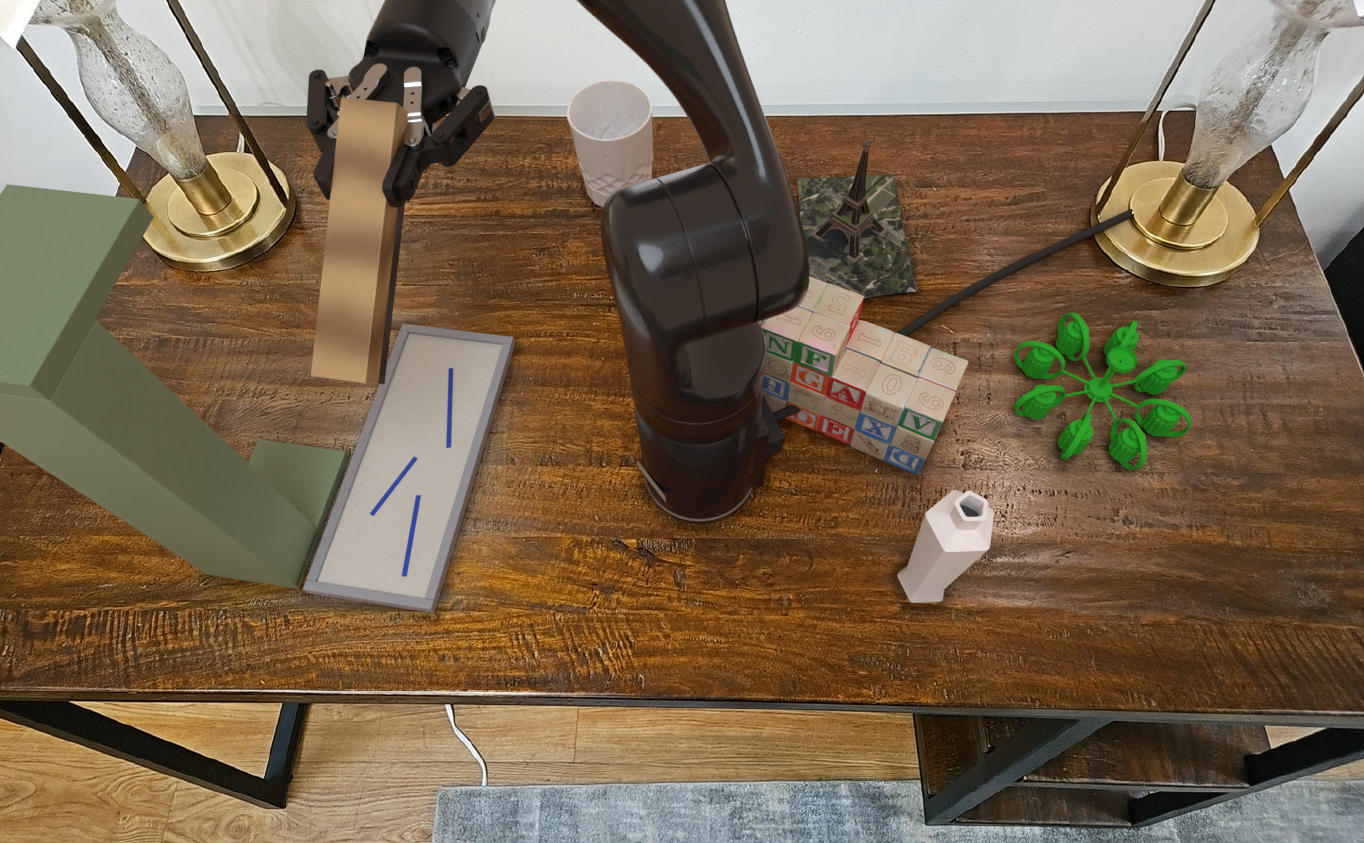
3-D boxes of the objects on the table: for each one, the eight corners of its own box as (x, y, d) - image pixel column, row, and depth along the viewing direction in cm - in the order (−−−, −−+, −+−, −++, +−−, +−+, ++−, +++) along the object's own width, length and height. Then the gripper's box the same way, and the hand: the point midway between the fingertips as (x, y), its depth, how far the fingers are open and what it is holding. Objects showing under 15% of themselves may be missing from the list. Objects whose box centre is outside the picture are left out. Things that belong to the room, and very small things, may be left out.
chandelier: (1132, 315, 81) (1167, 267, 75) (1213, 459, 74) (1258, 419, 68) (976, 346, 80) (998, 301, 74) (1043, 496, 73) (1073, 459, 67)
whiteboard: (405, 329, 83) (402, 323, 82) (515, 343, 82) (513, 336, 81) (307, 593, 71) (302, 589, 70) (434, 613, 70) (430, 609, 69)
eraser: (361, 111, 63) (340, 96, 60) (415, 116, 62) (397, 102, 60) (332, 377, 64) (309, 376, 61) (384, 384, 63) (365, 383, 60)
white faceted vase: (946, 551, 71) (1000, 471, 58) (956, 604, 69) (1014, 534, 56) (889, 553, 71) (929, 474, 58) (897, 607, 69) (941, 537, 56)
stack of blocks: (943, 418, 77) (981, 339, 66) (917, 477, 74) (952, 405, 63) (721, 326, 82) (723, 239, 71) (690, 378, 79) (686, 296, 68)
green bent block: (263, 444, 77) (6, 183, 49) (350, 456, 77) (139, 198, 48) (206, 574, 72) (-119, 365, 44) (299, 589, 71) (28, 385, 43)
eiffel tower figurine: (919, 297, 83) (953, 197, 71) (810, 304, 83) (827, 205, 71) (892, 177, 90) (919, 68, 78) (792, 183, 90) (804, 75, 78)
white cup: (672, 175, 91) (668, 98, 82) (629, 227, 88) (620, 152, 79) (609, 147, 93) (598, 68, 84) (565, 196, 90) (549, 120, 81)
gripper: (326, -26, 65) (234, 143, 57) (513, -11, 64) (444, 166, 56) (362, 59, 72) (283, 221, 64) (531, 74, 71) (473, 243, 63)
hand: (359, 194), depth 60 cm, fingers closed on eraser, 4 cm apart
